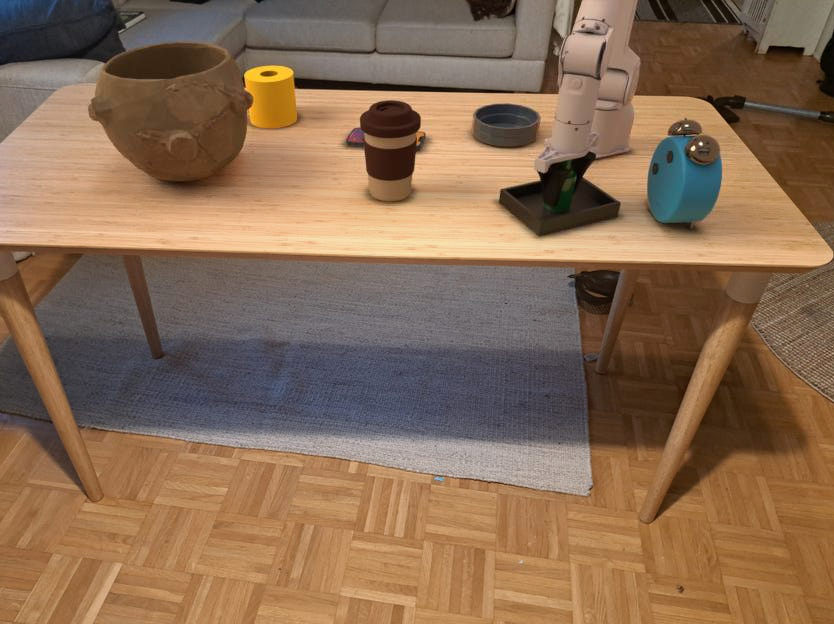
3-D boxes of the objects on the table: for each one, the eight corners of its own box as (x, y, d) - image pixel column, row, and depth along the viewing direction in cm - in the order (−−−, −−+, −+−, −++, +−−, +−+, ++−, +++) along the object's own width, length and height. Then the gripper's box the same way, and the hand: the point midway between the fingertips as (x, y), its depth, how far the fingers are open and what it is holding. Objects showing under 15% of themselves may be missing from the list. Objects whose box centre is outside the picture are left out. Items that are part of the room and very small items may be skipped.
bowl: (80, 175, 127) (44, 63, 113) (204, 128, 142) (186, 25, 129) (164, 223, 112) (135, 102, 99) (292, 165, 128) (281, 54, 115)
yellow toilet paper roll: (243, 126, 143) (236, 80, 136) (259, 108, 150) (254, 64, 144) (288, 130, 141) (284, 83, 135) (303, 111, 148) (299, 67, 142)
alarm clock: (705, 238, 106) (737, 145, 96) (665, 239, 106) (694, 147, 96) (674, 198, 116) (700, 110, 106) (638, 199, 116) (661, 112, 106)
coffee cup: (424, 203, 116) (427, 116, 106) (366, 209, 115) (364, 121, 105) (411, 177, 123) (413, 94, 113) (357, 182, 122) (355, 98, 112)
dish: (514, 118, 143) (517, 99, 141) (550, 141, 134) (553, 121, 131) (460, 129, 140) (461, 109, 137) (492, 153, 130) (495, 133, 128)
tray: (573, 185, 120) (575, 172, 118) (617, 216, 111) (621, 202, 110) (498, 202, 116) (500, 188, 114) (538, 236, 107) (541, 222, 106)
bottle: (560, 198, 115) (569, 148, 110) (575, 209, 112) (586, 159, 107) (538, 203, 114) (546, 153, 108) (553, 215, 111) (562, 164, 105)
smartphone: (354, 131, 140) (354, 126, 139) (426, 136, 136) (426, 131, 136) (344, 146, 134) (344, 141, 133) (419, 152, 131) (419, 146, 130)
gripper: (579, 98, 109) (564, 177, 118) (523, 123, 102) (512, 205, 111) (617, 110, 105) (599, 190, 114) (562, 137, 98) (547, 220, 107)
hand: (558, 198), depth 112 cm, fingers closed on bottle, 4 cm apart
